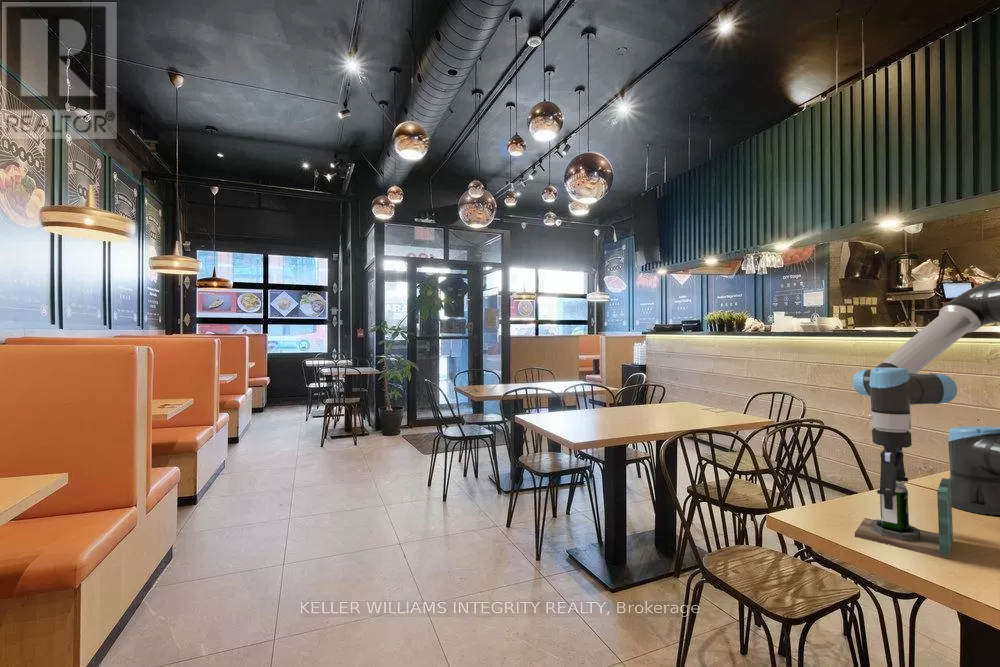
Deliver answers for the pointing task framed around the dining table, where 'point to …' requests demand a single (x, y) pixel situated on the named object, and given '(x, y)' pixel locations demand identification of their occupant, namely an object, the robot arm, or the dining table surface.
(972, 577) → the dining table surface
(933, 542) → the seat plate
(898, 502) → the green drink can
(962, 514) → the dining table surface
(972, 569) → the dining table surface
